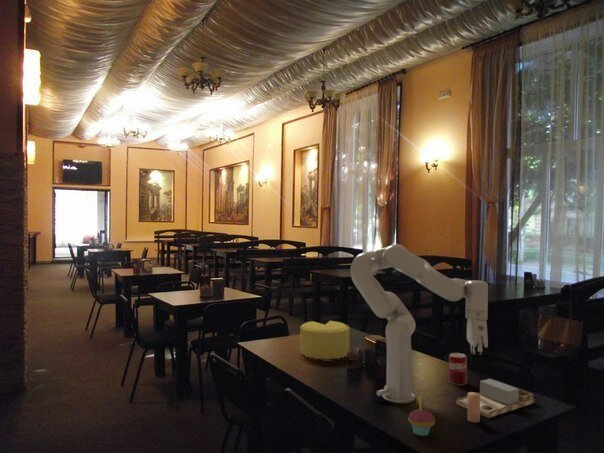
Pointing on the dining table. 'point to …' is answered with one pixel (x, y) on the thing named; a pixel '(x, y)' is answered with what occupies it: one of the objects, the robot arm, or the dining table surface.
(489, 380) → the cover
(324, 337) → the cheese
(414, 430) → the cupcake
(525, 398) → the board
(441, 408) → the dining table surface
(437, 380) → the dining table surface
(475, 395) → the peg
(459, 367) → the soda can
